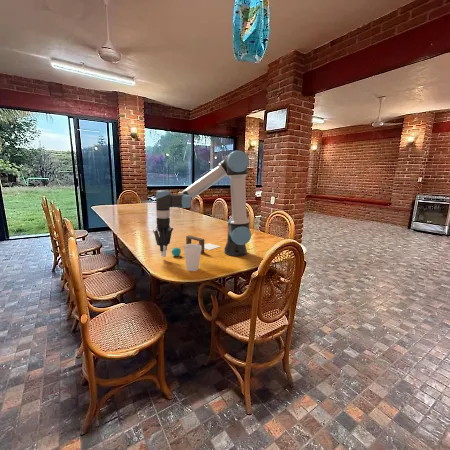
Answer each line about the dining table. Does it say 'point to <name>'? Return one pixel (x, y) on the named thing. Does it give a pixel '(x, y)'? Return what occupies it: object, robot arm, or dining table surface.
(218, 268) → the dining table surface
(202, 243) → the bridge
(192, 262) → the foam cup
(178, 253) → the ball
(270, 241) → the dining table surface
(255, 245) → the dining table surface
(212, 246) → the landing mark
